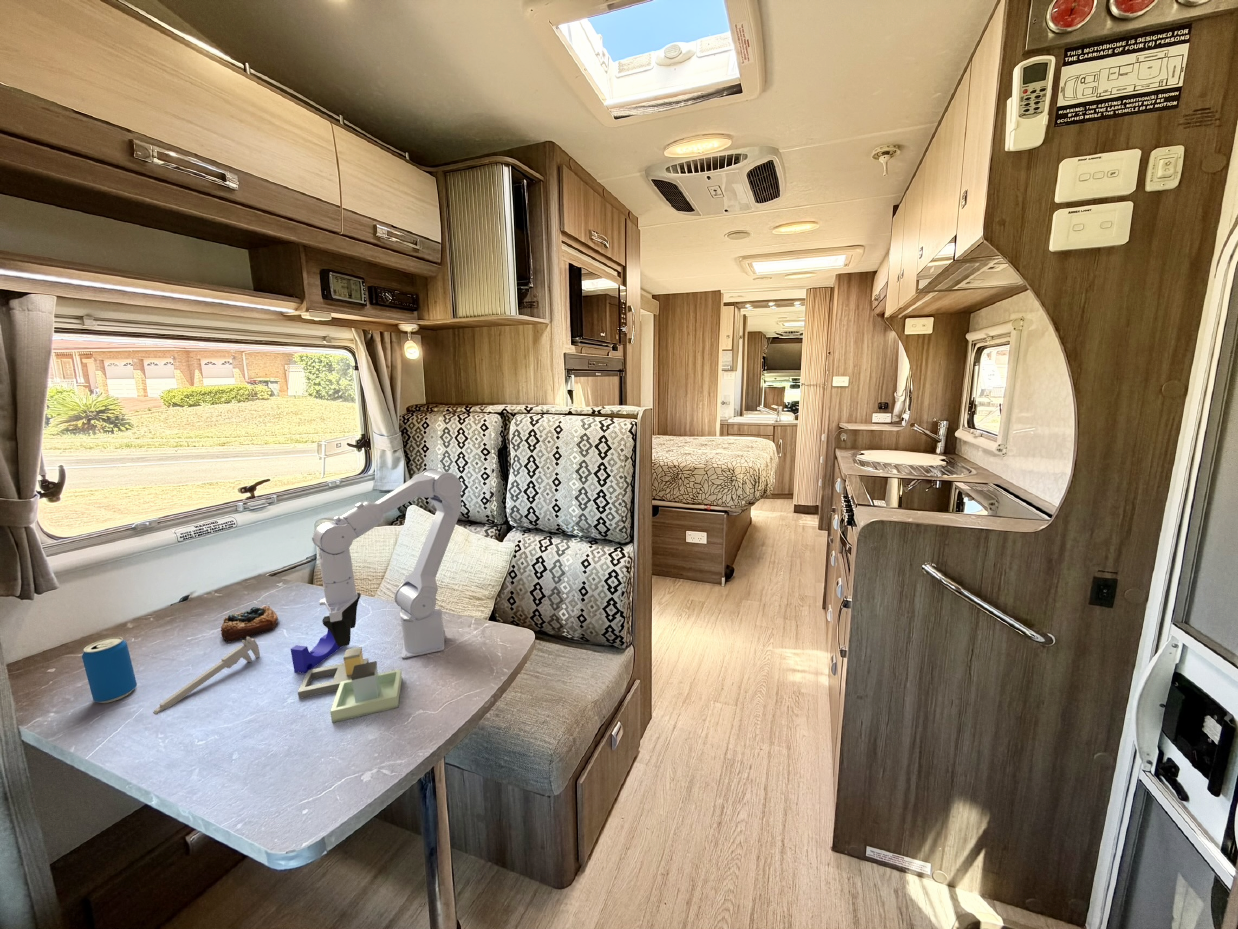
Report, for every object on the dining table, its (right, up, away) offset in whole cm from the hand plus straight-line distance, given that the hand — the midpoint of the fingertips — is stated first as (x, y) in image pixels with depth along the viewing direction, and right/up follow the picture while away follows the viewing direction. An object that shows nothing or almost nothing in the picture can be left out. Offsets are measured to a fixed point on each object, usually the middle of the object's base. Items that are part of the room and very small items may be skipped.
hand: (347, 636), depth 103 cm
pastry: (-40, -7, +24) cm, 47 cm away
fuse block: (-3, -10, +1) cm, 10 cm away
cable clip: (-12, -9, +10) cm, 18 cm away
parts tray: (+8, -11, -6) cm, 15 cm away
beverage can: (-48, -12, -2) cm, 50 cm away
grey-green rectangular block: (+8, -10, -6) cm, 14 cm away
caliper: (-31, -11, +2) cm, 33 cm away
